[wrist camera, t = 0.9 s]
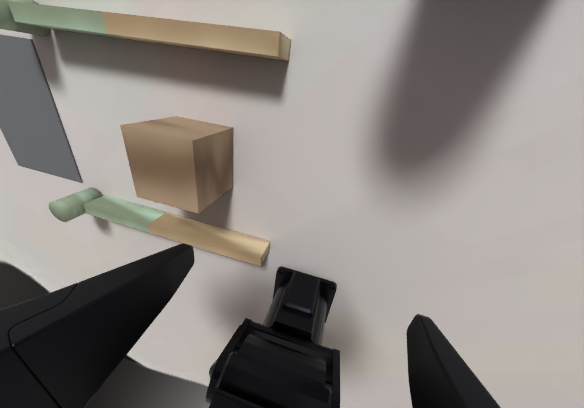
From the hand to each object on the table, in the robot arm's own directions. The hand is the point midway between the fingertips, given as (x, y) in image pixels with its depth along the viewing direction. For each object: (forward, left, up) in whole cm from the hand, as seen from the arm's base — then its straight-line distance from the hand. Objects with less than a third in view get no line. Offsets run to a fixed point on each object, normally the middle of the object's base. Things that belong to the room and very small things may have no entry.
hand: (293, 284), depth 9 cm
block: (0, +11, -12) cm, 16 cm away
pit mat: (0, +33, -12) cm, 35 cm away
